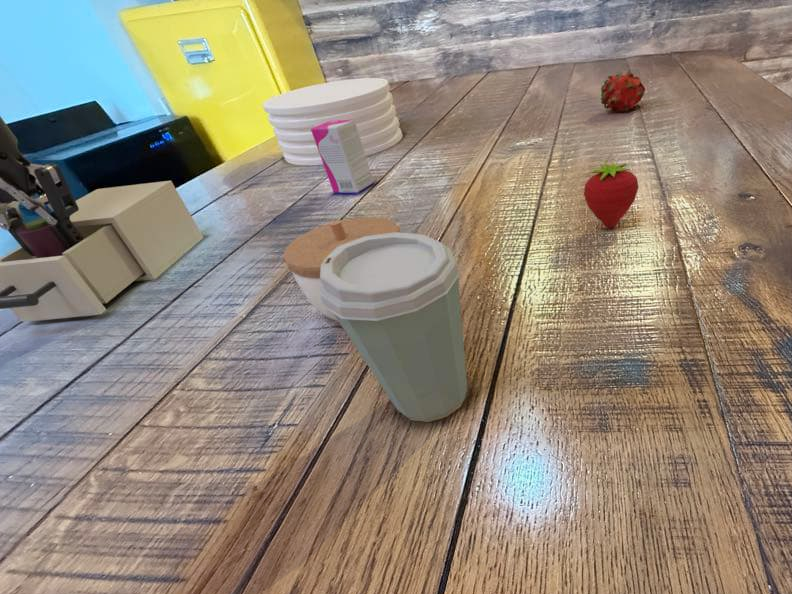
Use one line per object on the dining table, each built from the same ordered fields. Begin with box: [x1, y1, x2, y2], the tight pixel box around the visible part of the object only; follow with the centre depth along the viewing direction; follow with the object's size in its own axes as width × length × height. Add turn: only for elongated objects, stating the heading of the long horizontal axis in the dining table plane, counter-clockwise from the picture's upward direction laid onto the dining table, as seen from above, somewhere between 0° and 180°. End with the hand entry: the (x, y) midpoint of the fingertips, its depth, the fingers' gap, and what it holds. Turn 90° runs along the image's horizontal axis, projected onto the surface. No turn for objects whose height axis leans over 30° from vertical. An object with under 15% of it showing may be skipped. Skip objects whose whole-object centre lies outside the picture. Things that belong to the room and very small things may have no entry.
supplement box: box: [311, 120, 375, 196], centre depth 93 cm, size 6×6×12 cm
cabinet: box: [70, 180, 204, 282], centre depth 78 cm, size 15×13×10 cm
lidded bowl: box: [283, 216, 401, 322], centre depth 58 cm, size 13×13×11 cm
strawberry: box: [583, 154, 639, 229], centre depth 69 cm, size 6×8×10 cm
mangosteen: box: [16, 217, 68, 258], centre depth 67 cm, size 5×5×4 cm
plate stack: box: [262, 77, 403, 166], centre depth 119 cm, size 28×28×12 cm
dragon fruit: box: [600, 71, 646, 114], centre depth 117 cm, size 8×8×12 cm
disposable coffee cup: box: [320, 232, 469, 423], centre depth 43 cm, size 11×11×15 cm
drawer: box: [0, 223, 144, 323], centre depth 68 cm, size 18×11×8 cm, turn 0°
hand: (58, 250), depth 68 cm, fingers closed on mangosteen, 5 cm apart
